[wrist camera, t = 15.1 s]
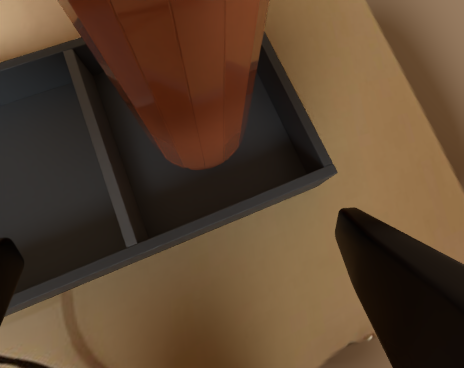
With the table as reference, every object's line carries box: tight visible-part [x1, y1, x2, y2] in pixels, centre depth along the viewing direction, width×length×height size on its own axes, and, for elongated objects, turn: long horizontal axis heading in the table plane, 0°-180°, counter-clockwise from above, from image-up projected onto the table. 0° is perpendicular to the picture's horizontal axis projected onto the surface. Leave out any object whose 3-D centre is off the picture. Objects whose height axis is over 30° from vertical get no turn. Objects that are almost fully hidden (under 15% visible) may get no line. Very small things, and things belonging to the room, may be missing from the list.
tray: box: [0, 32, 337, 317], centre depth 17 cm, size 14×24×3 cm, turn 113°
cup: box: [57, 0, 270, 170], centre depth 13 cm, size 6×6×13 cm
